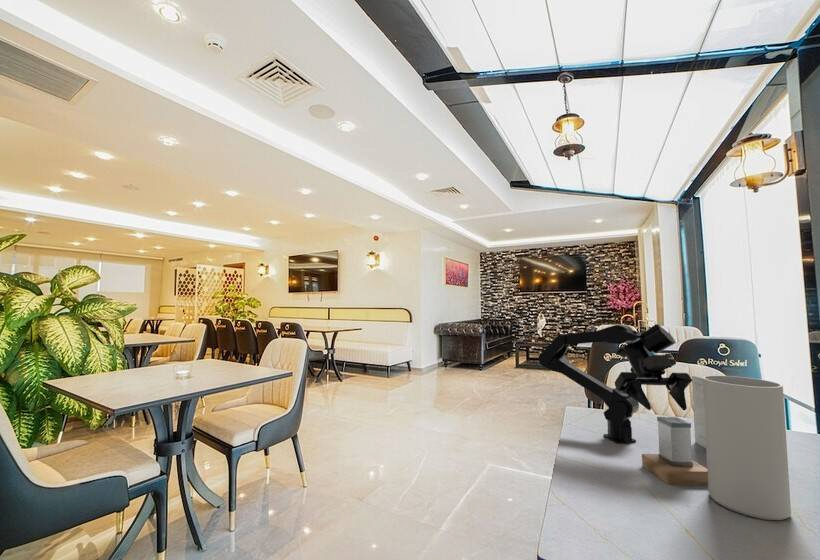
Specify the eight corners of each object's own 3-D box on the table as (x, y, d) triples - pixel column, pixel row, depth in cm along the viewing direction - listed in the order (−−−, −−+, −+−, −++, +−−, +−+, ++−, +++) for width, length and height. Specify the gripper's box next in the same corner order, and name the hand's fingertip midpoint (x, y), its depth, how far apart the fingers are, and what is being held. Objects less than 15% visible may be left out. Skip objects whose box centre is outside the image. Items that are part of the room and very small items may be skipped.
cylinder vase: (775, 529, 68) (766, 389, 69) (696, 497, 79) (691, 378, 81) (802, 512, 73) (793, 383, 75) (725, 485, 84) (719, 373, 86)
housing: (658, 457, 92) (657, 416, 93) (677, 458, 92) (675, 416, 93) (673, 466, 87) (671, 423, 88) (693, 467, 87) (690, 423, 88)
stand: (642, 466, 94) (641, 453, 95) (681, 466, 94) (681, 454, 94) (669, 484, 84) (668, 471, 85) (713, 485, 84) (712, 471, 84)
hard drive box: (760, 465, 95) (756, 386, 97) (726, 463, 97) (722, 385, 98) (722, 443, 110) (719, 376, 112) (693, 442, 112) (690, 374, 113)
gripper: (618, 343, 104) (644, 391, 92) (685, 343, 104) (720, 392, 92) (605, 366, 112) (627, 415, 100) (667, 367, 111) (697, 415, 99)
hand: (667, 409), depth 98 cm, fingers open, 9 cm apart
